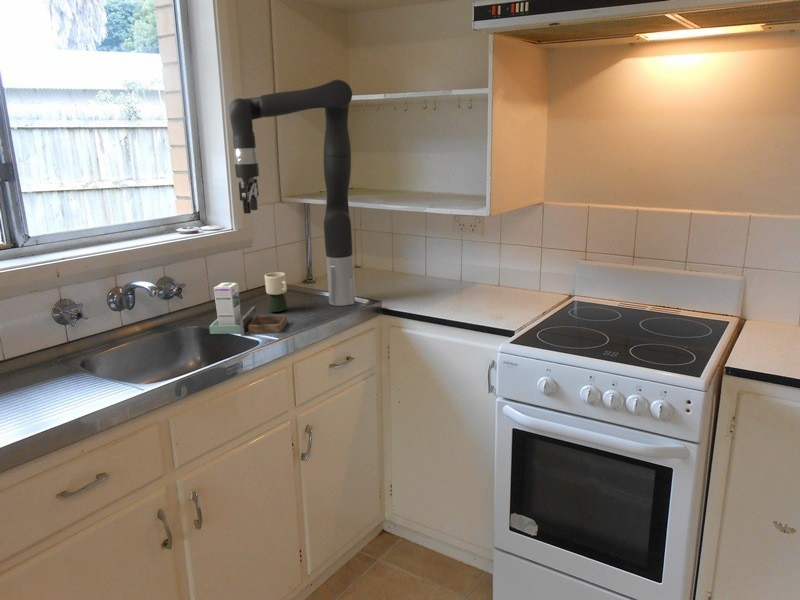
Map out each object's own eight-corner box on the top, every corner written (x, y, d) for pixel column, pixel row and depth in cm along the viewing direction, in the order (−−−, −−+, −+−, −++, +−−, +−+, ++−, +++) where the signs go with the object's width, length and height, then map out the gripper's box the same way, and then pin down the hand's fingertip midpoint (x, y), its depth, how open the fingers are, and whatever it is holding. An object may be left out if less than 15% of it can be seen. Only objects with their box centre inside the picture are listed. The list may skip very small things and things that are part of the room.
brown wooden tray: (287, 322, 203) (286, 315, 202) (280, 332, 193) (279, 325, 193) (256, 323, 203) (255, 315, 203) (248, 333, 194) (247, 325, 193)
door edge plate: (257, 321, 206) (255, 306, 204) (244, 335, 191) (242, 320, 190) (254, 321, 206) (252, 306, 204) (241, 336, 191) (239, 320, 190)
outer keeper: (250, 323, 203) (249, 316, 203) (241, 333, 194) (241, 325, 193) (220, 324, 204) (219, 316, 203) (210, 333, 194) (209, 326, 194)
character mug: (296, 311, 215) (293, 274, 212) (280, 316, 210) (277, 278, 207) (276, 306, 222) (273, 270, 219) (260, 311, 217) (256, 274, 213)
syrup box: (236, 331, 196) (231, 286, 192) (218, 331, 197) (213, 286, 193) (243, 326, 201) (238, 282, 197) (226, 325, 202) (221, 282, 198)
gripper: (251, 163, 199) (256, 214, 203) (262, 160, 212) (267, 208, 217) (228, 164, 199) (233, 215, 203) (241, 161, 213) (245, 209, 217)
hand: (251, 211), depth 210 cm, fingers open, 8 cm apart
